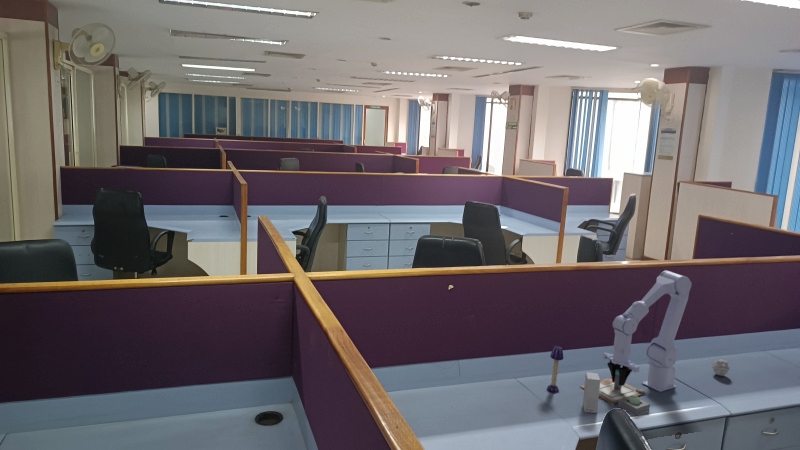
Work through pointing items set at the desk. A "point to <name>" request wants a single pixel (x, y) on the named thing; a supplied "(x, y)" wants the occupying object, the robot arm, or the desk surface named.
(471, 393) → the desk surface
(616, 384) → the marker
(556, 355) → the toy lamp
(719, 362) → the grey lumpy rounded piece
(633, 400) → the button
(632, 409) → the button housing
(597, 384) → the skincare box
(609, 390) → the framed board
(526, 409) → the desk surface
